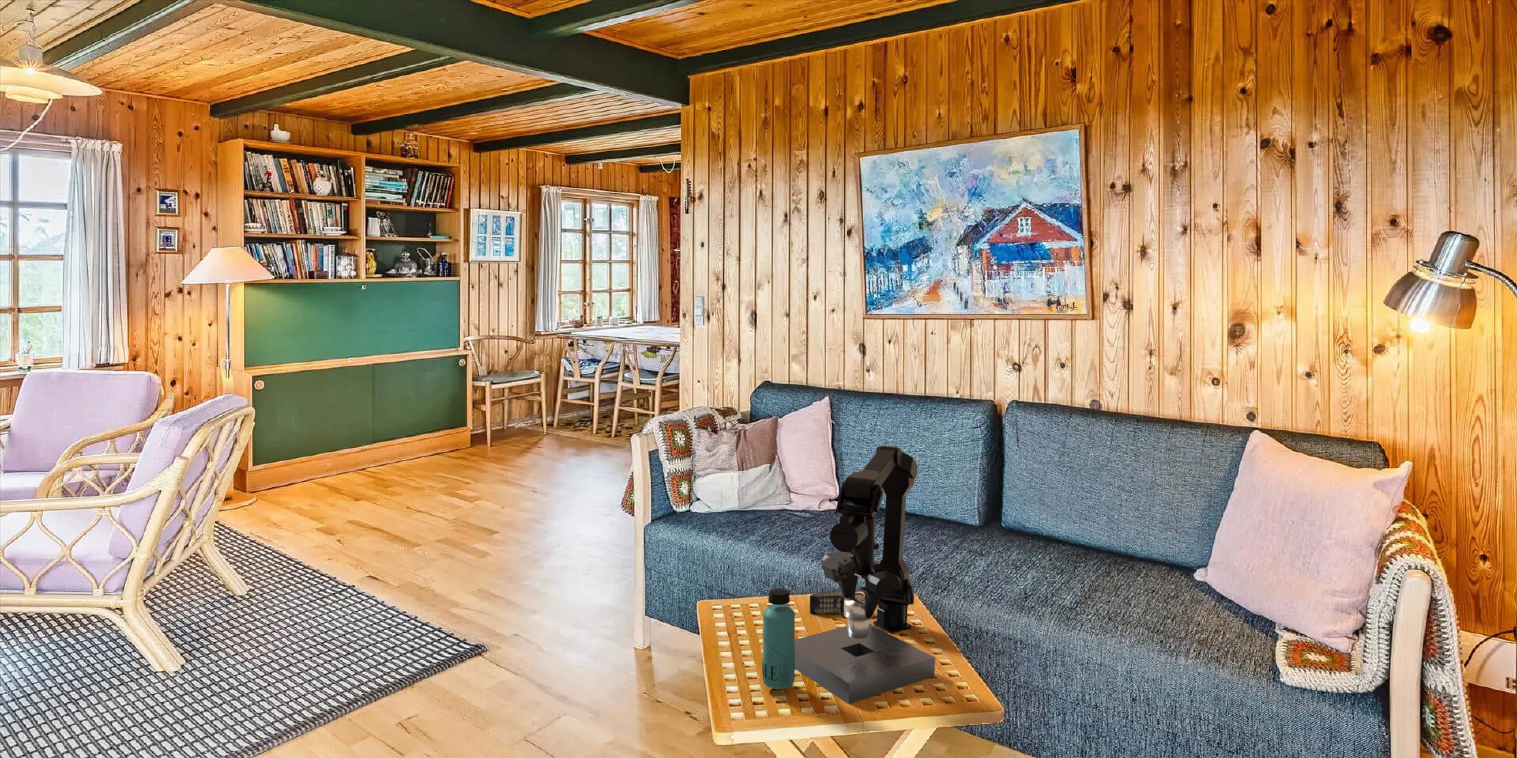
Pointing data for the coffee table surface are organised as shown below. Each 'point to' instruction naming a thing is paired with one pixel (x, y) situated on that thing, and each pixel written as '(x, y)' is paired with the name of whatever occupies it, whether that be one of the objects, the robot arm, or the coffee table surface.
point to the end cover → (856, 616)
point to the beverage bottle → (778, 641)
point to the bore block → (861, 663)
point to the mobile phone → (828, 603)
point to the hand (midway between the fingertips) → (858, 612)
